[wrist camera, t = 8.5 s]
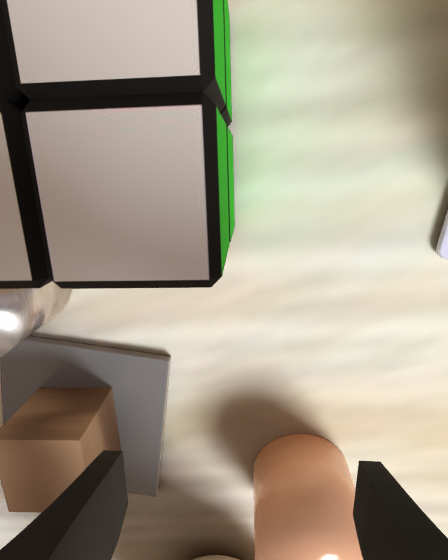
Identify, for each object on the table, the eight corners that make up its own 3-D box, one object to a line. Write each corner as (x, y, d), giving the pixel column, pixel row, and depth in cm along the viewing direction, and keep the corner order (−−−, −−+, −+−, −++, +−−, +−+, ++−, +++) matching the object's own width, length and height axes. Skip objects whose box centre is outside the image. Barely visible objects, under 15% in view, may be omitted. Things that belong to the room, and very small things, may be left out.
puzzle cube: (17, 23, 18) (-261, -150, 8) (229, 10, 17) (206, -196, 7) (52, 234, 20) (-121, 294, 11) (234, 231, 20) (222, 291, 10)
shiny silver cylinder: (72, 242, 20) (18, 265, 16) (71, 326, 22) (22, 370, 17) (-18, 230, 20) (-98, 249, 16) (-12, 314, 22) (-84, 354, 17)
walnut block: (112, 387, 22) (79, 440, 18) (121, 449, 23) (92, 513, 19) (39, 387, 22) (-11, 439, 18) (52, 449, 24) (8, 511, 19)
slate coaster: (170, 356, 22) (168, 361, 21) (158, 489, 25) (156, 496, 24) (5, 332, 22) (-2, 336, 22) (11, 466, 25) (6, 473, 25)
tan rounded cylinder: (357, 441, 23) (394, 532, 17) (336, 515, 25) (363, 620, 19) (261, 427, 23) (265, 512, 17) (247, 501, 25) (247, 601, 19)
